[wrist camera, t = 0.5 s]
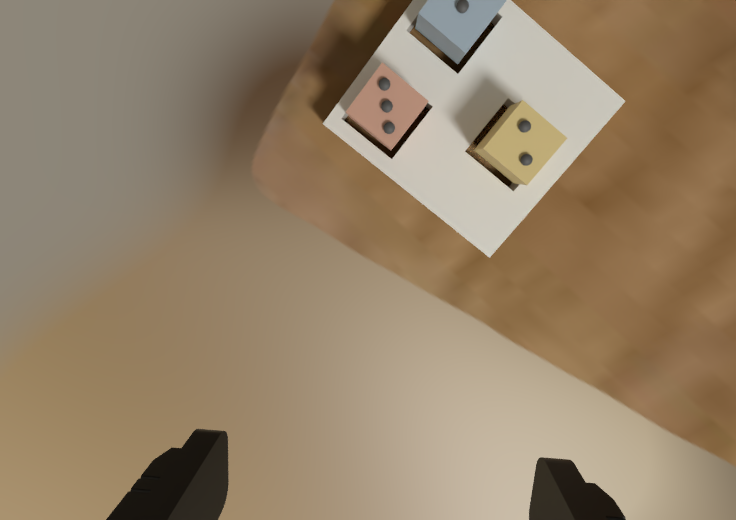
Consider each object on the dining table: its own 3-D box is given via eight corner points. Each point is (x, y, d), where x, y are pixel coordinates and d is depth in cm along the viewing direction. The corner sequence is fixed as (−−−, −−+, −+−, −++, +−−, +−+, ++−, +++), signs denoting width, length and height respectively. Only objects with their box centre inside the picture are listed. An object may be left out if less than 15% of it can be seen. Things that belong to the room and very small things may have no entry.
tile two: (509, 106, 30) (523, 99, 27) (550, 140, 31) (568, 137, 28) (473, 150, 31) (483, 148, 28) (513, 183, 31) (528, 185, 28)
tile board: (446, -39, 31) (451, -53, 29) (610, 104, 32) (625, 101, 30) (326, 126, 33) (322, 123, 31) (483, 252, 35) (489, 257, 33)
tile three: (382, 72, 30) (382, 61, 27) (424, 107, 30) (428, 100, 27) (349, 117, 31) (345, 111, 28) (390, 150, 31) (391, 149, 28)
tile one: (451, -21, 29) (459, -44, 26) (494, 17, 29) (507, -1, 26) (415, 28, 30) (418, 11, 26) (457, 64, 30) (466, 52, 27)
